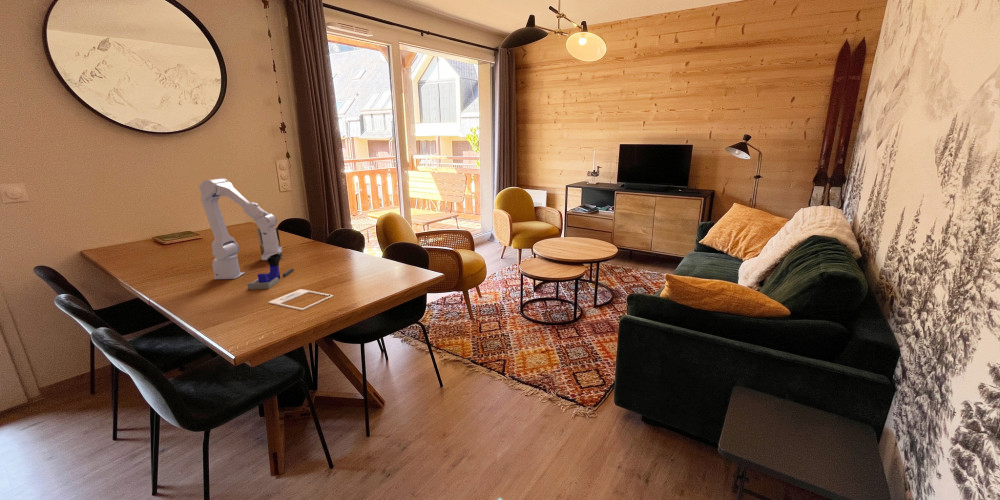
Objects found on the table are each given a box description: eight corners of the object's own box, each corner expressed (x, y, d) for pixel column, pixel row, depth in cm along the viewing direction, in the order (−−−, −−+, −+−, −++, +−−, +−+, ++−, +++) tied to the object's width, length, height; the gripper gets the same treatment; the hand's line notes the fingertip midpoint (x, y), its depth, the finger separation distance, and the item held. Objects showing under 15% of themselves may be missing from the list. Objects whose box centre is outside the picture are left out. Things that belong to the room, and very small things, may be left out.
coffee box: (283, 258, 211) (278, 228, 206) (271, 261, 205) (265, 230, 201) (273, 255, 215) (268, 226, 211) (261, 258, 210) (256, 228, 206)
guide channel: (266, 276, 182) (266, 274, 181) (275, 271, 189) (275, 268, 189) (285, 276, 182) (285, 273, 182) (293, 270, 190) (293, 268, 189)
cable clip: (270, 278, 180) (267, 266, 178) (280, 278, 180) (278, 265, 178) (256, 288, 168) (253, 274, 167) (267, 288, 169) (265, 274, 167)
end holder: (248, 289, 167) (247, 283, 166) (259, 281, 175) (258, 276, 175) (268, 288, 167) (267, 283, 167) (278, 281, 176) (278, 276, 175)
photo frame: (300, 288, 165) (333, 294, 158) (301, 291, 166) (333, 297, 158) (268, 301, 152) (302, 308, 145) (268, 304, 153) (302, 311, 146)
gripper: (271, 245, 170) (276, 275, 174) (287, 237, 184) (291, 265, 188) (254, 246, 170) (259, 276, 174) (271, 237, 184) (276, 265, 188)
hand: (275, 270), depth 181 cm, fingers closed
